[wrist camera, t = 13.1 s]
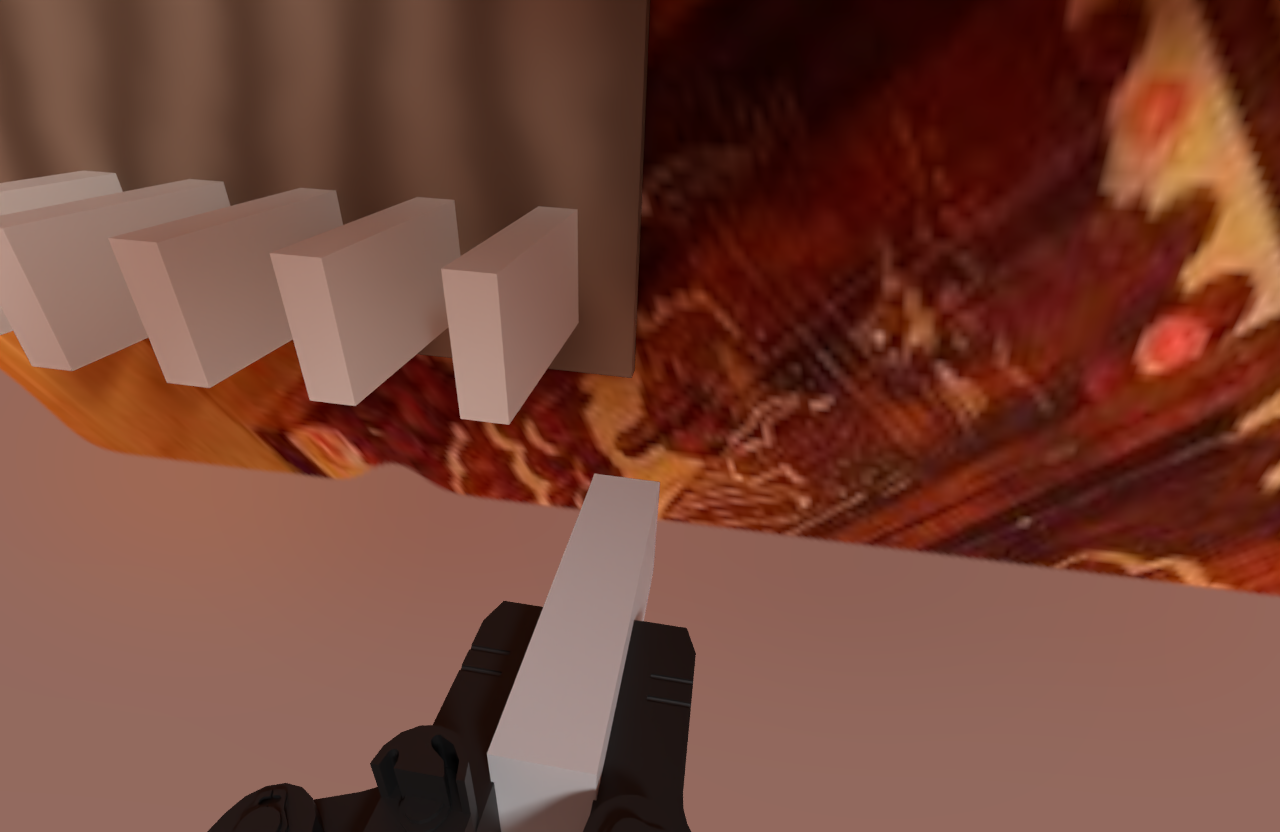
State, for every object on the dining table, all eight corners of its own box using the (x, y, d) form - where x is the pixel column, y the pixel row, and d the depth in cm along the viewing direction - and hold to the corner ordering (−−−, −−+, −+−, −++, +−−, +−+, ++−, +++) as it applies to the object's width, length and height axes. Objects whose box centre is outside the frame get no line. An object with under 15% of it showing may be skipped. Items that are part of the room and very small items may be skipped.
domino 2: (223, 181, 32) (2, 228, 22) (255, 290, 35) (72, 371, 25) (189, 179, 32) (-43, 224, 23) (224, 287, 35) (32, 366, 26)
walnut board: (653, -67, 24) (649, -72, 24) (634, 370, 35) (631, 377, 34) (-156, -86, 29) (-184, -91, 28) (37, 304, 39) (21, 310, 38)
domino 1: (115, 173, 33) (-142, 214, 23) (156, 280, 36) (-57, 355, 26) (83, 170, 33) (-185, 210, 23) (126, 277, 36) (-95, 350, 26)
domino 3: (335, 190, 31) (156, 242, 22) (358, 300, 34) (209, 388, 25) (300, 187, 31) (108, 238, 22) (326, 297, 34) (166, 382, 25)
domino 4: (454, 199, 30) (321, 257, 21) (466, 311, 33) (355, 406, 24) (417, 196, 31) (269, 252, 21) (432, 308, 34) (309, 400, 24)
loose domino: (577, 209, 30) (496, 273, 20) (578, 322, 33) (509, 424, 23) (538, 206, 30) (441, 268, 20) (543, 319, 33) (460, 418, 23)
